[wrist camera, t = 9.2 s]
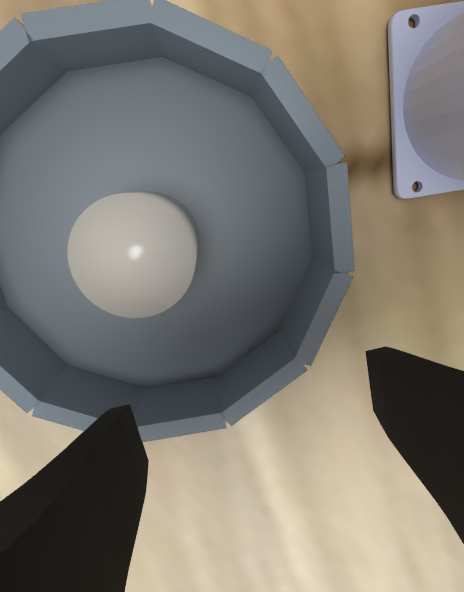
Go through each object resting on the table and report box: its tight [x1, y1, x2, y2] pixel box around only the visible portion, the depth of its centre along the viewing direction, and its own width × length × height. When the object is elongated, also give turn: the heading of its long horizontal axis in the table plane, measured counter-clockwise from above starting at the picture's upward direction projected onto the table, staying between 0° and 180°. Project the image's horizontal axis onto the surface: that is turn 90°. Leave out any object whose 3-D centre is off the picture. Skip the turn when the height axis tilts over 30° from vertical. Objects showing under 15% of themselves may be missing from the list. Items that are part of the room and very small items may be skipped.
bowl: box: [0, 0, 354, 442], centre depth 17 cm, size 17×17×4 cm
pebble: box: [67, 192, 199, 318], centre depth 16 cm, size 4×4×5 cm
